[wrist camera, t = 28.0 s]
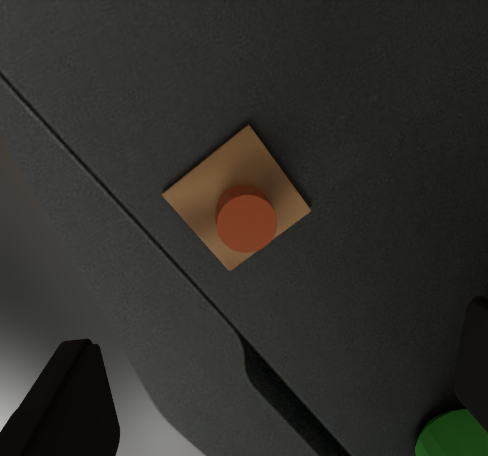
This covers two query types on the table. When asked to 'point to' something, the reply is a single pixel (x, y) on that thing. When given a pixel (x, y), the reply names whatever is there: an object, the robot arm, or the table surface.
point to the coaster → (226, 177)
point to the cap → (245, 219)
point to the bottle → (453, 436)
